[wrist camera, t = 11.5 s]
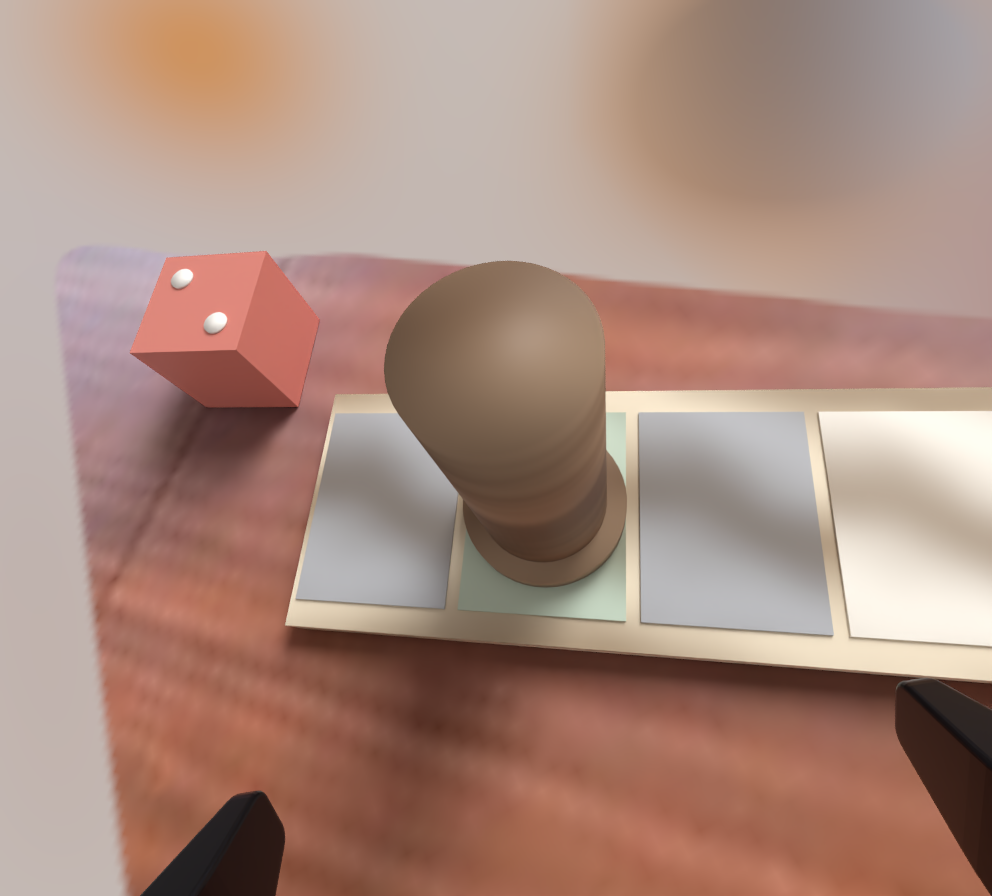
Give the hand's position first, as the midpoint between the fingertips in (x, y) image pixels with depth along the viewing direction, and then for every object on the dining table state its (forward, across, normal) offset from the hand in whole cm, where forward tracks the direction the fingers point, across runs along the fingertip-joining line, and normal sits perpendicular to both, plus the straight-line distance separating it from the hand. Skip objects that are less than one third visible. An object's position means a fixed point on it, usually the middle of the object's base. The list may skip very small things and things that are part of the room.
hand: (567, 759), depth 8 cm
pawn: (+13, 0, +3) cm, 14 cm away
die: (+22, +12, -4) cm, 26 cm away
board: (+14, -3, +5) cm, 15 cm away
